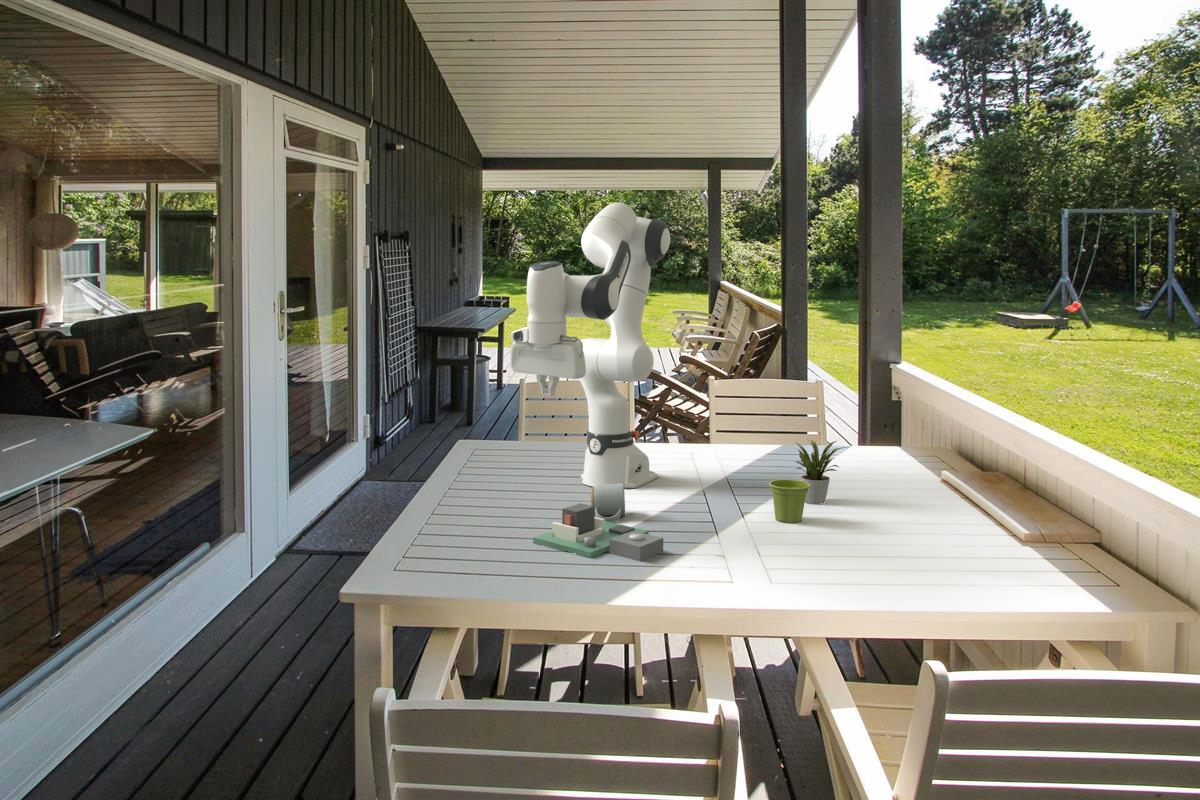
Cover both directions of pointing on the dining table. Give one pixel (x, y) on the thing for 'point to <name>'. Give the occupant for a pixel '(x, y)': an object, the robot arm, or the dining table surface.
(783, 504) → the plant pot
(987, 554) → the dining table surface
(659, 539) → the gray push button box
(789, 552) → the dining table surface
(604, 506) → the ceramic mug
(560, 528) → the board
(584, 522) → the plug
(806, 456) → the house plant
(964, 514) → the dining table surface
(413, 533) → the dining table surface
